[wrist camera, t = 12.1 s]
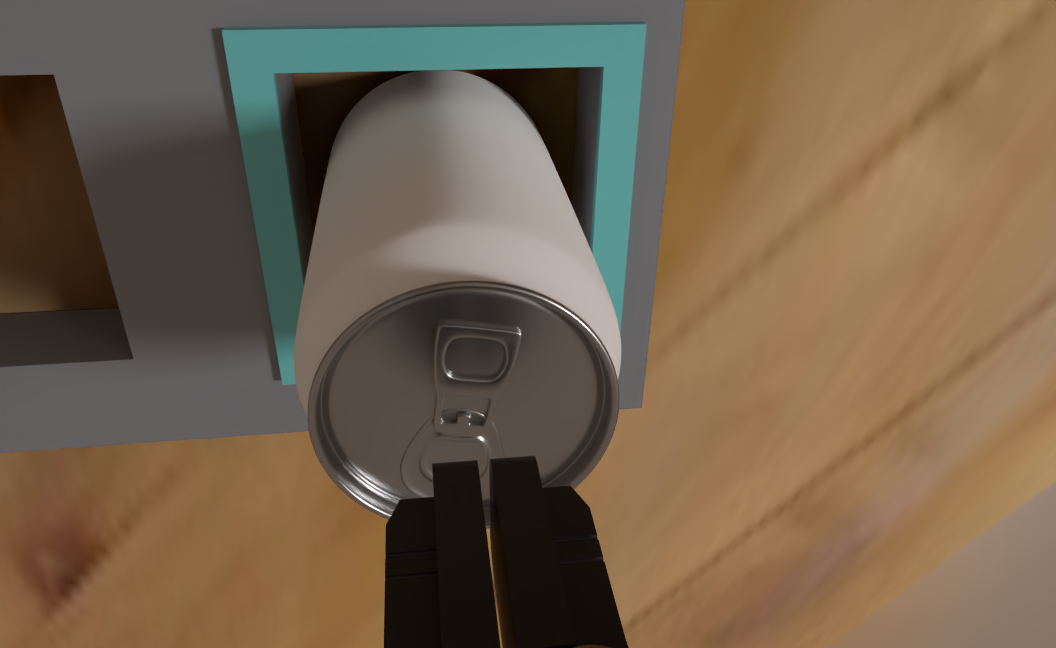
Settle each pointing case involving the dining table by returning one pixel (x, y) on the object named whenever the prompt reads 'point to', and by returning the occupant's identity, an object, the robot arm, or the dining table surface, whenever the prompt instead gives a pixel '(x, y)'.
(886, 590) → the dining table surface
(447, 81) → the can
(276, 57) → the dock panel
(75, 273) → the dining table surface
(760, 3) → the dining table surface
